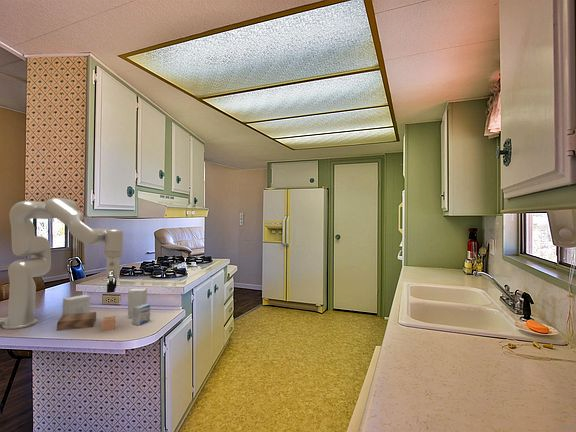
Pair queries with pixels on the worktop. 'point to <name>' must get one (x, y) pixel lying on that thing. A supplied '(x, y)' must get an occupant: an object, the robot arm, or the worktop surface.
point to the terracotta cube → (108, 323)
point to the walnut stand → (76, 321)
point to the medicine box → (141, 314)
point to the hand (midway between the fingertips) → (111, 290)
